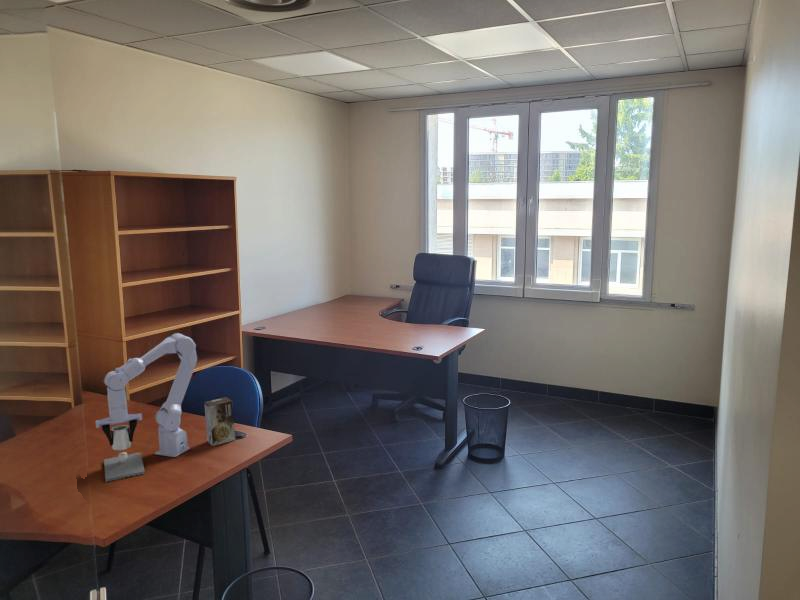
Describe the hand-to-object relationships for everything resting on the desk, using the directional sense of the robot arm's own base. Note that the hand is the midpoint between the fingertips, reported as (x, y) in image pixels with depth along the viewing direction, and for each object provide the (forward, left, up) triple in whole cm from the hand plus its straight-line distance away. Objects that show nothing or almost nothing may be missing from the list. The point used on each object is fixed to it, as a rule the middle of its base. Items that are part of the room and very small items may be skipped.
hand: (121, 442), depth 204 cm
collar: (0, 0, -2) cm, 2 cm away
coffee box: (-21, -28, -8) cm, 36 cm away
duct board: (-2, +2, -8) cm, 9 cm away
